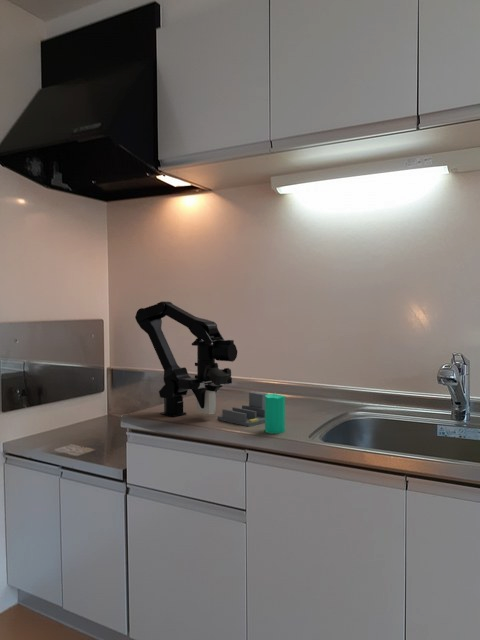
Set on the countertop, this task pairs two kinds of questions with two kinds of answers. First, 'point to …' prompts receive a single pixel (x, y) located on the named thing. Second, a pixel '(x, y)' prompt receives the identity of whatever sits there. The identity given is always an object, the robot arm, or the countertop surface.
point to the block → (208, 403)
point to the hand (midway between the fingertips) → (206, 407)
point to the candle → (274, 413)
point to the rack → (247, 411)
